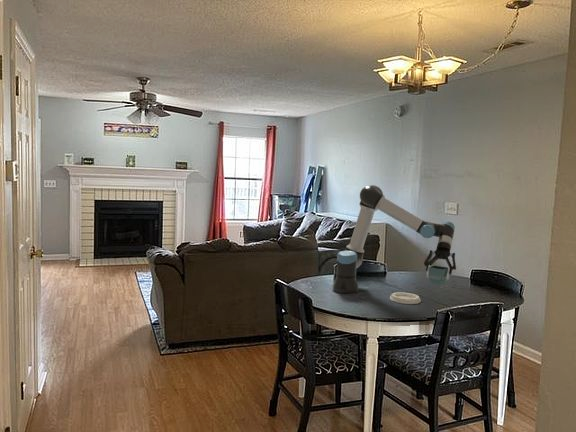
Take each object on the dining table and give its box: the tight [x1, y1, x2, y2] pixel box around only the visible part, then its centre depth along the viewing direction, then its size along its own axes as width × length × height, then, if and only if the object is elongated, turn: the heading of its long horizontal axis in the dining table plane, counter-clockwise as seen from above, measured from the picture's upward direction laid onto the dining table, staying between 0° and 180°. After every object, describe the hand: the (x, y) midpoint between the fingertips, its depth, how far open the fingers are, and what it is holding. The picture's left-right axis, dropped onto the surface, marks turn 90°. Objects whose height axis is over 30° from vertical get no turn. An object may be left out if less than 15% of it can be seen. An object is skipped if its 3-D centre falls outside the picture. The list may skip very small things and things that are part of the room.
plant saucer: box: [389, 291, 422, 305], centre depth 279 cm, size 17×17×2 cm
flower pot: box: [428, 265, 448, 285], centre depth 271 cm, size 9×9×9 cm
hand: (437, 277), depth 268 cm, fingers closed on flower pot, 10 cm apart
